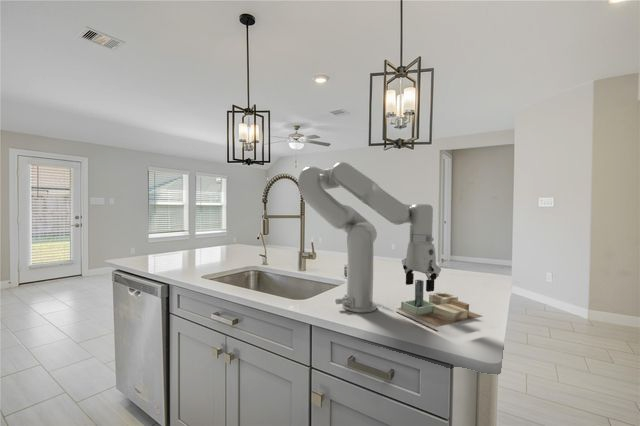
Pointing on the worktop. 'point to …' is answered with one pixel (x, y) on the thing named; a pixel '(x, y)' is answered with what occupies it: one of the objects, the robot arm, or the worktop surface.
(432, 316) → the board
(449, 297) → the holder
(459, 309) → the beige cardboard box
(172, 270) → the worktop surface
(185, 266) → the worktop surface
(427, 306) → the tray
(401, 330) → the worktop surface
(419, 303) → the dowel
